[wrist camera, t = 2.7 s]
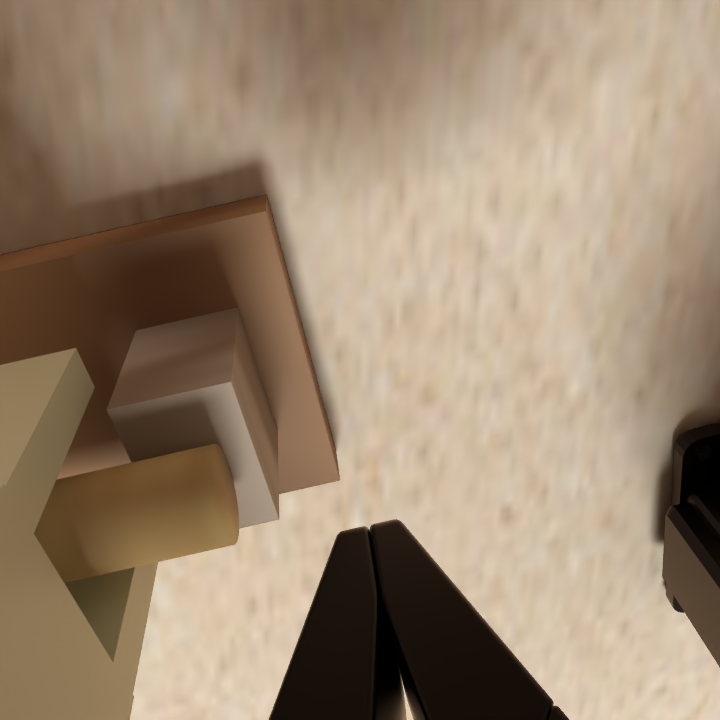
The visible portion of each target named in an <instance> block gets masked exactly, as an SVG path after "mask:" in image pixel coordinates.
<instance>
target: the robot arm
mask: <svg viewBox="0 0 720 720" xmlns="http://www.w3.org/2000/svg"><path fill="white" fill-rule="evenodd" d="M698 447H700V448H699V449H698V450H696V449H697V448H698ZM695 450H696V451H695ZM662 576H663V579H664V581H665V582H666V596H667V598H668V600H669V602H670V603H671V605H672V606H673V608H674V609H675V610H676V611H678V612H682V613H684V612H685V614H686V615H687V617H688V618H689V620H690V621H691V623H692V625H693V626H694V628H695V629H696V631H697V632H698V634H699V635H700V637H701V639H702V640H703V642H704V643H705V645H706V646H707V648H708V650H709V651H710V653H711V654H712V656H713V657H714V659H715V661H716V662H717V664H718V665H719V667H720V423H715V424H711V425H706V426H702V427H698V428H694V429H691V430H689V431H687V432H685V433H684V434H683V435H681V436H680V438H679V439H678V440H677V442H676V444H675V448H674V463H673V481H672V498H671V506H670V507H669V509H668V512H667V514H666V516H665V534H664V553H663V572H662ZM401 678H402V679H401ZM402 681H403V685H404V689H405V693H406V696H407V700H408V703H409V706H410V710H411V713H412V716H413V719H414V720H569V719H568V718H567V716H566V715H565V714H564V713H563V712H562V711H561V709H560V708H559V707H558V706H554V705H553V701H552V699H551V698H550V697H549V696H548V694H547V693H546V692H545V691H544V690H543V689H542V687H541V686H540V685H539V684H538V683H537V681H536V680H535V679H534V678H533V677H532V676H531V674H530V673H529V672H528V671H527V670H526V668H525V667H524V666H523V665H522V664H521V663H520V661H519V660H518V659H517V658H516V657H515V655H514V654H513V653H512V652H511V651H510V649H509V648H508V647H507V646H506V645H505V644H504V642H503V641H502V640H501V639H500V638H499V636H498V635H497V634H496V633H495V632H494V631H493V629H492V628H491V627H490V626H489V625H488V623H487V622H486V621H485V620H484V619H483V618H482V616H481V615H480V614H479V613H478V612H477V610H476V609H475V608H474V607H473V606H472V605H471V603H470V602H469V601H468V600H467V599H466V597H465V596H464V595H463V594H462V593H461V591H460V590H459V589H458V588H457V587H456V586H455V584H454V583H453V582H452V581H451V580H450V578H449V577H448V576H447V575H446V574H445V573H444V571H443V570H442V569H441V568H440V567H439V565H438V564H437V563H436V562H435V561H434V560H433V558H432V557H431V556H430V555H429V554H428V552H427V551H426V550H425V549H424V548H423V547H422V545H421V544H420V543H419V542H418V541H417V539H416V538H415V537H414V536H413V535H412V534H411V532H410V531H409V530H408V529H407V528H406V526H405V525H404V524H403V523H402V522H401V521H400V520H397V519H394V520H390V521H386V522H381V523H377V524H373V525H372V526H371V527H370V531H369V529H368V528H367V527H359V528H354V529H350V530H345V531H342V532H340V533H339V534H338V535H337V537H336V540H335V542H334V545H333V548H332V550H331V553H330V556H329V558H328V561H327V564H326V567H325V569H324V572H323V575H322V577H321V580H320V583H319V585H318V588H317V591H316V593H315V596H314V599H313V602H312V604H311V607H310V610H309V612H308V615H307V618H306V620H305V623H304V626H303V629H302V631H301V634H300V637H299V639H298V642H297V645H296V647H295V650H294V653H293V655H292V658H291V661H290V664H289V666H288V669H287V672H286V674H285V677H284V680H283V682H282V685H281V688H280V691H279V693H278V696H277V699H276V701H275V704H274V707H273V709H272V712H271V715H270V718H269V720H406V709H405V699H404V691H403V685H402Z"/></svg>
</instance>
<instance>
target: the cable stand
mask: <svg viewBox="0 0 720 720" xmlns="http://www.w3.org/2000/svg"><path fill="white" fill-rule="evenodd" d="M73 348H76V349H77V351H78V353H79V355H80V357H81V359H82V361H83V364H84V366H85V368H86V370H87V372H88V374H89V376H90V378H91V380H92V383H93V385H94V387H95V388H94V391H93V393H92V395H91V398H90V400H89V402H88V405H87V407H86V410H85V412H84V414H83V417H82V419H81V422H80V424H79V426H78V429H77V431H76V434H75V436H74V438H73V441H72V443H71V446H70V448H69V450H68V453H67V455H66V458H65V460H64V462H63V465H62V467H61V469H60V472H59V474H58V477H57V479H56V481H55V484H54V486H53V489H52V491H51V493H50V496H49V498H48V501H47V503H46V505H45V508H44V510H43V513H42V515H41V517H40V520H39V522H38V525H37V527H36V529H35V532H34V535H35V536H36V538H37V540H38V541H39V543H40V544H41V546H42V548H43V549H44V551H45V553H46V554H47V556H48V558H49V559H50V561H51V562H52V564H53V566H54V567H55V569H56V571H57V572H58V574H59V575H60V577H61V579H62V580H63V582H64V583H67V582H71V581H75V580H80V579H84V578H89V577H93V576H98V575H102V574H106V573H111V572H115V571H120V570H124V569H129V568H133V567H137V566H142V565H146V564H151V563H155V562H159V561H164V560H168V559H173V558H177V557H182V556H186V555H190V554H195V553H199V552H204V551H208V550H213V549H217V548H221V547H226V546H230V545H234V544H235V543H236V542H237V540H238V535H239V528H243V527H248V526H252V525H257V524H261V523H265V522H270V521H274V520H279V494H281V493H286V492H290V491H295V490H299V489H303V488H308V487H312V486H317V485H321V484H326V483H330V482H334V481H339V480H340V476H339V469H338V461H337V454H336V450H335V446H334V442H333V439H332V435H331V431H330V428H329V424H328V420H327V417H326V413H325V409H324V405H323V402H322V398H321V394H320V391H319V387H318V383H317V380H316V376H315V372H314V369H313V365H312V361H311V357H310V354H309V350H308V346H307V343H306V339H305V335H304V332H303V328H302V324H301V321H300V317H299V313H298V309H297V306H296V302H295V298H294V295H293V291H292V287H291V284H290V280H289V276H288V272H287V269H286V265H285V261H284V258H283V254H282V250H281V247H280V243H279V239H278V236H277V232H276V228H275V224H274V221H273V217H272V213H271V210H270V206H269V202H268V199H267V195H263V196H259V197H254V198H250V199H245V200H241V201H237V202H232V203H228V204H223V205H219V206H215V207H210V208H206V209H201V210H197V211H193V212H188V213H184V214H179V215H175V216H171V217H166V218H162V219H157V220H153V221H148V222H144V223H140V224H135V225H131V226H126V227H122V228H118V229H113V230H109V231H104V232H100V233H96V234H91V235H87V236H82V237H78V238H74V239H69V240H65V241H60V242H56V243H51V244H47V245H43V246H38V247H34V248H29V249H25V250H21V251H16V252H12V253H7V254H3V255H0V365H3V364H7V363H12V362H16V361H20V360H25V359H29V358H34V357H38V356H42V355H47V354H51V353H56V352H60V351H64V350H69V349H73Z"/></svg>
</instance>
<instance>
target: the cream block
mask: <svg viewBox="0 0 720 720" xmlns="http://www.w3.org/2000/svg"><path fill="white" fill-rule="evenodd" d="M94 388H95V387H94V385H93V383H92V380H91V378H90V376H89V374H88V372H87V370H86V368H85V366H84V364H83V361H82V359H81V357H80V355H79V353H78V351H77V349H76V348H73V349H69V350H64V351H60V352H56V353H51V354H47V355H42V356H38V357H34V358H29V359H25V360H20V361H16V362H12V363H7V364H3V365H0V720H130V715H131V709H132V704H133V699H134V696H133V691H134V685H135V680H136V675H137V669H138V664H139V659H140V654H141V648H142V643H143V638H144V633H145V627H146V622H147V617H148V612H149V606H150V601H151V596H152V591H153V585H154V580H155V575H156V569H157V564H158V562H155V563H151V564H146V565H142V566H137V567H133V568H129V569H124V570H120V571H115V572H111V573H106V574H102V575H98V576H93V577H89V578H84V579H80V580H75V581H71V582H67V583H64V582H63V580H62V579H61V577H60V575H59V574H58V572H57V571H56V569H55V567H54V566H53V564H52V562H51V561H50V559H49V558H48V556H47V554H46V553H45V551H44V549H43V548H42V546H41V544H40V543H39V541H38V540H37V538H36V536H35V535H34V532H35V529H36V527H37V525H38V522H39V520H40V517H41V515H42V513H43V510H44V508H45V505H46V503H47V501H48V498H49V496H50V493H51V491H52V489H53V486H54V484H55V481H56V479H57V477H58V474H59V472H60V469H61V467H62V465H63V462H64V460H65V458H66V455H67V453H68V450H69V448H70V446H71V443H72V441H73V438H74V436H75V434H76V431H77V429H78V426H79V424H80V422H81V419H82V417H83V414H84V412H85V410H86V407H87V405H88V402H89V400H90V398H91V395H92V393H93V391H94Z"/></svg>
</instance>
